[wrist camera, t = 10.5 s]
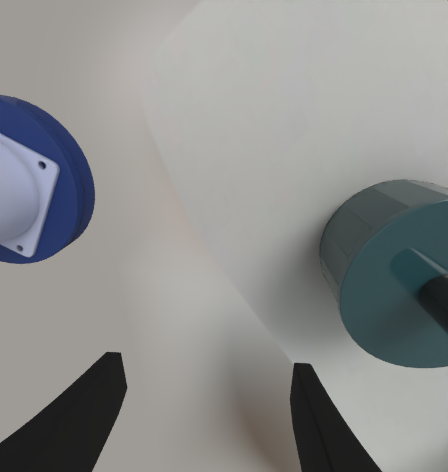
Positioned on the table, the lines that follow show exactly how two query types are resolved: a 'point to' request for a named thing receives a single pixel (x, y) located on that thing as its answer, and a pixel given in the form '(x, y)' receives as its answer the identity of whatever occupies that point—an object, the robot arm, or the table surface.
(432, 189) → the tin
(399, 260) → the tin lid
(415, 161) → the table surface
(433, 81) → the table surface
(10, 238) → the robot arm
